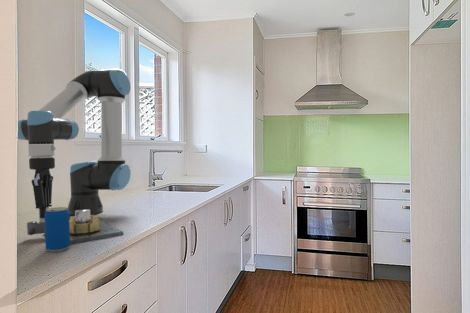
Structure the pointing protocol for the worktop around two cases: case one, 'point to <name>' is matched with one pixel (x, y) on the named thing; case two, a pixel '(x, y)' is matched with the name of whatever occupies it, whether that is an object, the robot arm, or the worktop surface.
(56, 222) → the beverage can
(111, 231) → the base plate
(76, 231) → the grey lever
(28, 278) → the worktop surface
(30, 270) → the worktop surface
